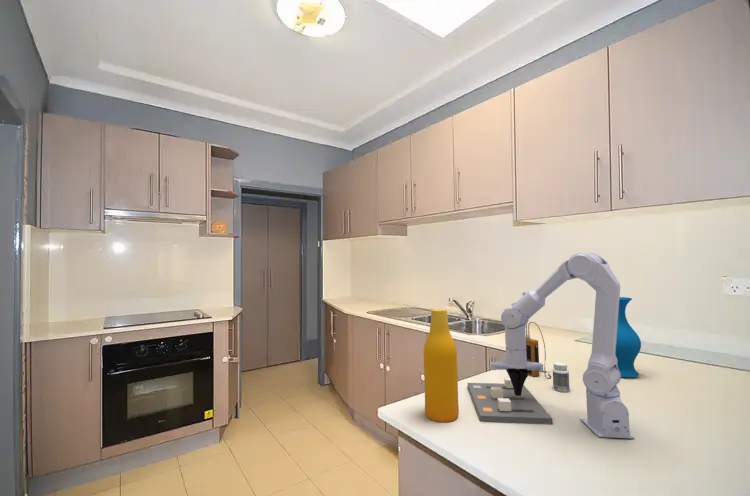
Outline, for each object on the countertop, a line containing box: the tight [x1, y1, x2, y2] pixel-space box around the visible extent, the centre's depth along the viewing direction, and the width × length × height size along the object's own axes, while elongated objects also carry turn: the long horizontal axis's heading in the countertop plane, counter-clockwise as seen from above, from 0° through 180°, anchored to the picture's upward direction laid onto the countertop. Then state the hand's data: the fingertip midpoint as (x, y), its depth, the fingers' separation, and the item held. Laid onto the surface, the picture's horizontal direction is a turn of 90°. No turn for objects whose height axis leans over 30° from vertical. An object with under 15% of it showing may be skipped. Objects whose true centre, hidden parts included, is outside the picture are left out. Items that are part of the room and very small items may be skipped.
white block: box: [497, 398, 511, 411], centre depth 96 cm, size 2×3×2 cm
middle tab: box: [491, 387, 503, 398], centre depth 105 cm, size 2×3×2 cm
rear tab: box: [503, 377, 513, 388], centre depth 113 cm, size 2×3×2 cm
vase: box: [615, 296, 642, 379], centre depth 129 cm, size 12×13×28 cm
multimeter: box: [525, 321, 552, 379], centre depth 133 cm, size 15×10×20 cm
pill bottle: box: [552, 361, 570, 393], centre depth 115 cm, size 5×5×8 cm
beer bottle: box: [423, 308, 460, 423], centre depth 97 cm, size 9×9×29 cm
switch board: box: [467, 382, 554, 425], centre depth 104 cm, size 26×18×2 cm
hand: (517, 394), depth 104 cm, fingers closed
